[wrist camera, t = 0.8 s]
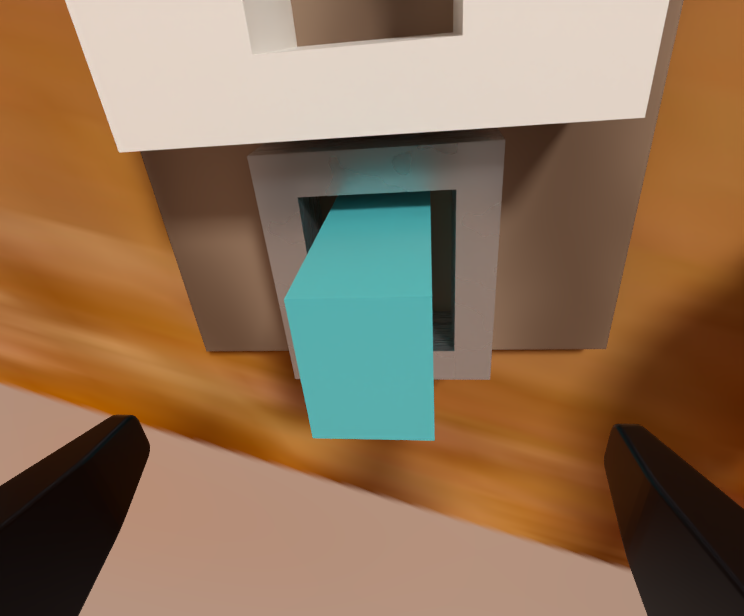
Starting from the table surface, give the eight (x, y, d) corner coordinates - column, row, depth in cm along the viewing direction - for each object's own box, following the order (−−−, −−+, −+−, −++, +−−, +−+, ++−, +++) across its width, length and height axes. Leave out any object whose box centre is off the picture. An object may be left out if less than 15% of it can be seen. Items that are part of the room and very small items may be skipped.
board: (762, -467, 9) (799, -520, 8) (597, 333, 18) (605, 348, 17) (13, -309, 11) (-22, -337, 10) (215, 337, 20) (206, 351, 20)
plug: (429, 188, 15) (432, 296, 9) (431, 295, 17) (434, 440, 11) (338, 192, 15) (283, 299, 9) (351, 296, 17) (312, 438, 11)
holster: (493, 122, 14) (505, 139, 12) (482, 337, 18) (489, 379, 16) (273, 137, 15) (247, 156, 12) (310, 338, 19) (295, 379, 17)
